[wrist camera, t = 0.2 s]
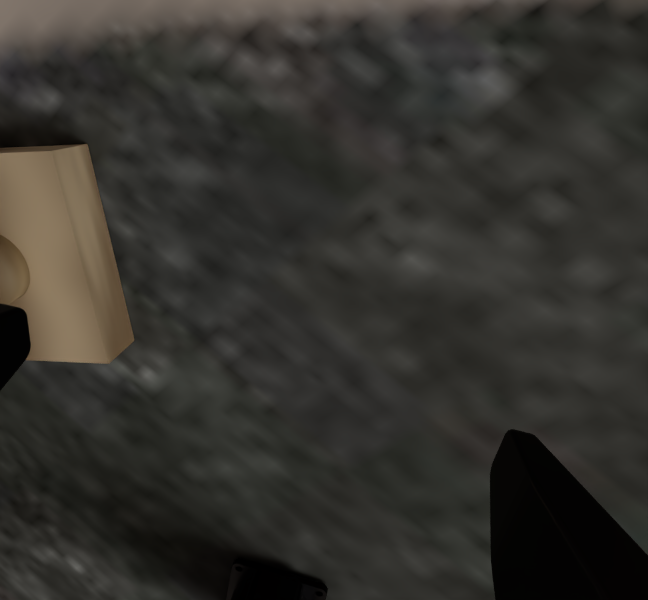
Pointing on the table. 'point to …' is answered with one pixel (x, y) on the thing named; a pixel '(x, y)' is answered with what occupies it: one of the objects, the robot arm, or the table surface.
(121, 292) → the sliding-lid wooden box
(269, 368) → the table surface
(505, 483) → the robot arm
